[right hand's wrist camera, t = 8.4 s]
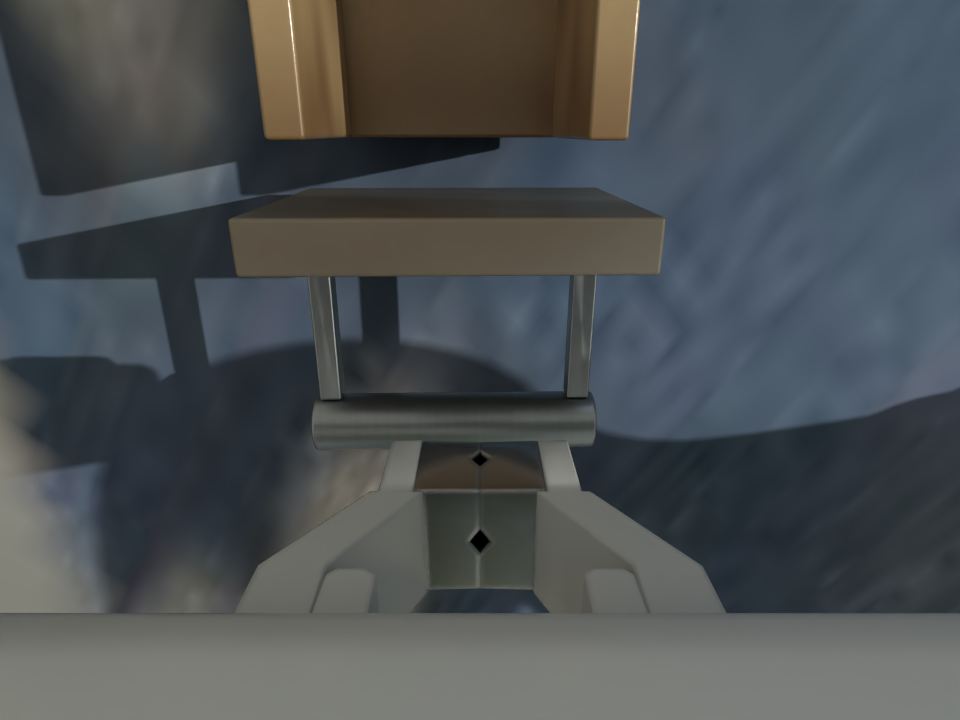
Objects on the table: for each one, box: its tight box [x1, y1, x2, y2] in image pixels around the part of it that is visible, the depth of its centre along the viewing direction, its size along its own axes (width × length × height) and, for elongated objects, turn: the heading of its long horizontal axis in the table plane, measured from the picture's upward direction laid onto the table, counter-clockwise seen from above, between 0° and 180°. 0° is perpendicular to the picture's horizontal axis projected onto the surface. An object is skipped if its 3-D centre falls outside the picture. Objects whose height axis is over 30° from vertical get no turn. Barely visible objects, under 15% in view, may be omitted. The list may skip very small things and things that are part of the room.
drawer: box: [228, 0, 666, 450], centre depth 13 cm, size 22×9×6 cm, turn 0°
